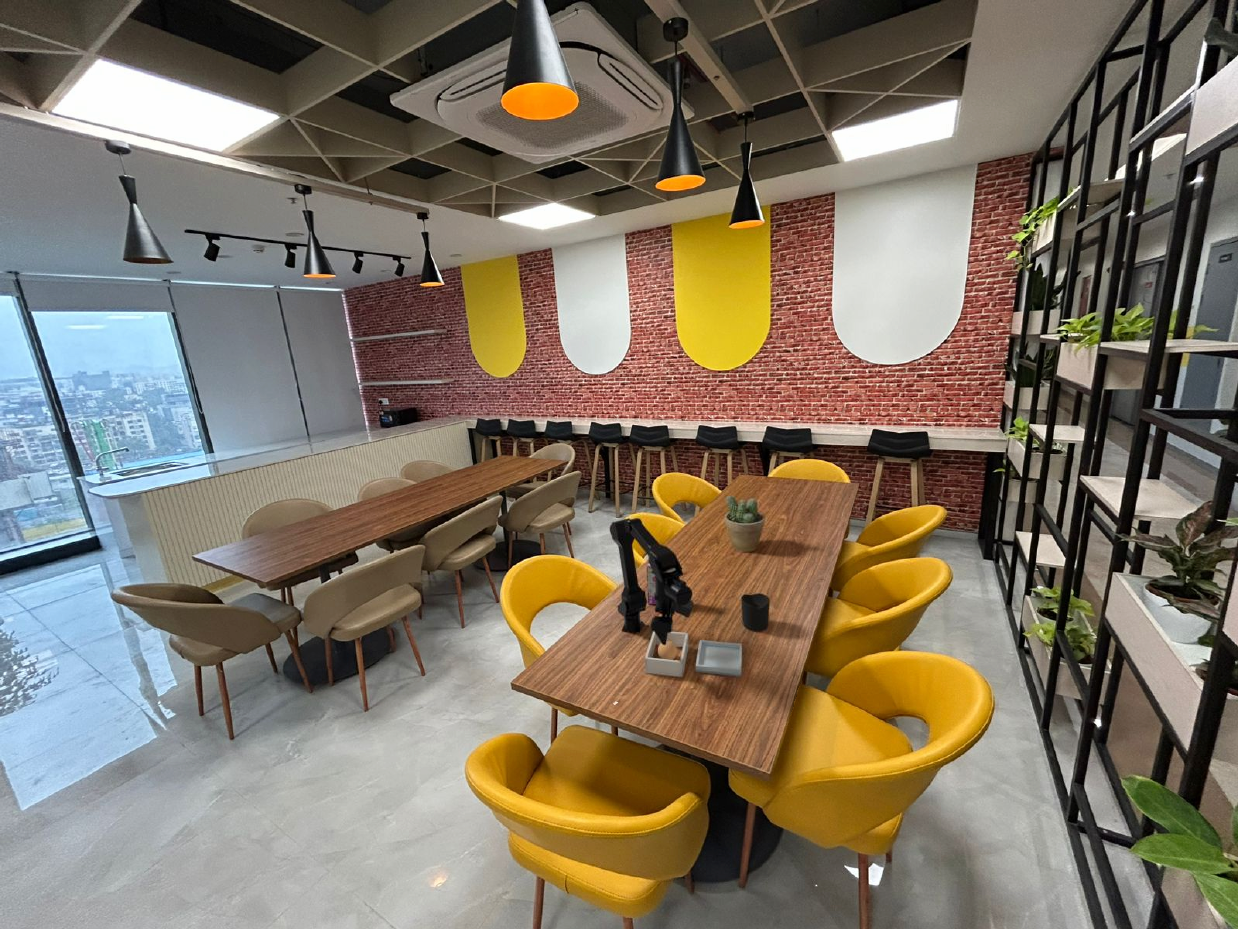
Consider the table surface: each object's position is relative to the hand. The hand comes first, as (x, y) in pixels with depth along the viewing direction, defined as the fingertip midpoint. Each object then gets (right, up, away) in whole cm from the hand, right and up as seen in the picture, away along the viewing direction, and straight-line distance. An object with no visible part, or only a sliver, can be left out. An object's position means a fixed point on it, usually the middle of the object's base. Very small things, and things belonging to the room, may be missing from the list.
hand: (666, 636), depth 155 cm
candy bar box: (+2, 0, +36) cm, 36 cm away
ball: (0, -5, +1) cm, 5 cm away
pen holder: (+33, -2, +18) cm, 37 cm away
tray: (+16, -8, 0) cm, 18 cm away
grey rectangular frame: (+1, -8, +2) cm, 8 cm away
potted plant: (+45, +14, +81) cm, 93 cm away
